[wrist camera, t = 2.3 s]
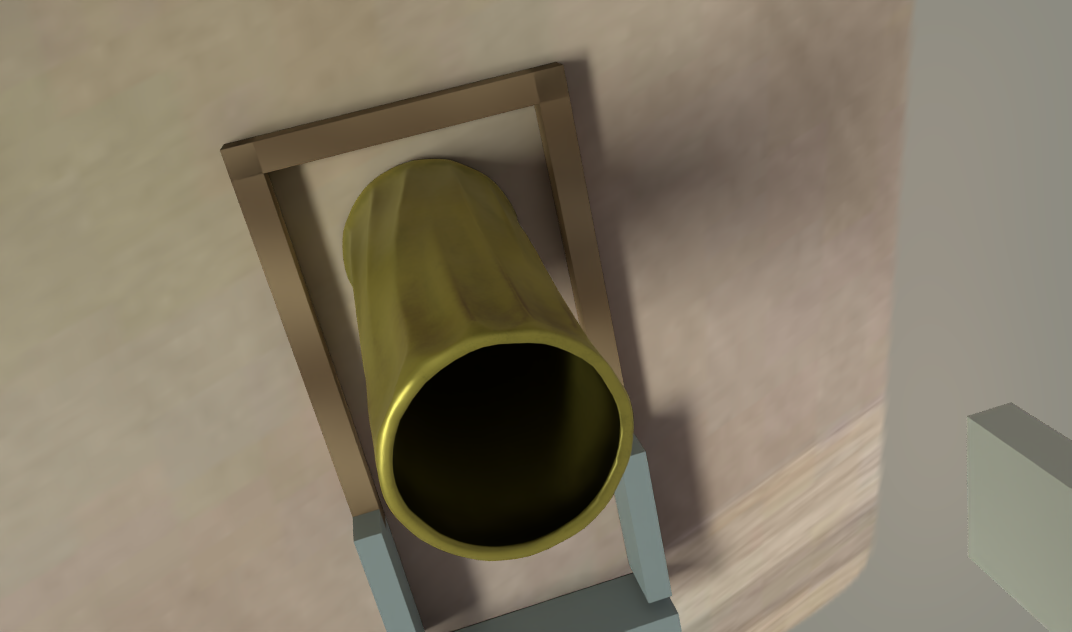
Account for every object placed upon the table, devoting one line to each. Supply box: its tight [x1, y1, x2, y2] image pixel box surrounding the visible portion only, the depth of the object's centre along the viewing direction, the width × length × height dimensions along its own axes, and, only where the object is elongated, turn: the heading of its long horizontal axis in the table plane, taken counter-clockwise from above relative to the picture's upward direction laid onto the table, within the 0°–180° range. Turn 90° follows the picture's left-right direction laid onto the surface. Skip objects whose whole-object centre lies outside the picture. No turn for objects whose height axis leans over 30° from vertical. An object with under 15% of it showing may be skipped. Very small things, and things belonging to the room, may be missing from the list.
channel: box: [220, 62, 624, 528], centre depth 30 cm, size 15×11×1 cm
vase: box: [343, 159, 634, 561], centre depth 23 cm, size 6×6×14 cm
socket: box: [353, 433, 682, 632], centre depth 34 cm, size 8×11×3 cm
